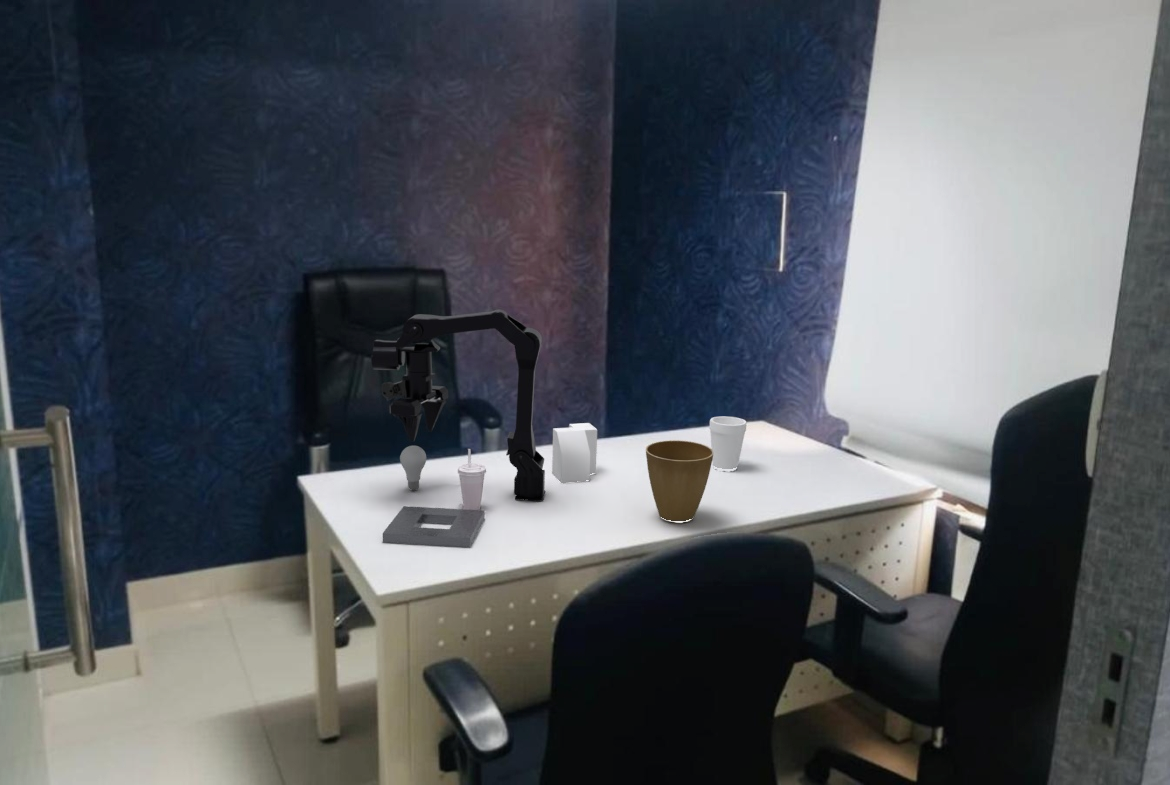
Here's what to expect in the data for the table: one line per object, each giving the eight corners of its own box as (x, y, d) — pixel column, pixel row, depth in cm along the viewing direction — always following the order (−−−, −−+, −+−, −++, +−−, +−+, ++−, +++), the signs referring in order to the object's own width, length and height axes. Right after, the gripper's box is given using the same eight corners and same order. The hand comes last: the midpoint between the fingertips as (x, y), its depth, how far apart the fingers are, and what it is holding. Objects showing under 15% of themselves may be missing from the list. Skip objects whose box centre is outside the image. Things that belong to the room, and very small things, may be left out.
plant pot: (641, 505, 208) (644, 439, 205) (705, 507, 208) (710, 441, 204) (643, 529, 194) (646, 458, 190) (712, 531, 194) (717, 460, 190)
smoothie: (458, 503, 206) (458, 445, 203) (486, 503, 206) (486, 445, 203) (456, 513, 200) (456, 453, 196) (485, 513, 200) (486, 453, 197)
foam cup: (748, 467, 239) (752, 420, 236) (734, 476, 232) (738, 427, 229) (715, 460, 244) (718, 414, 241) (701, 469, 237) (704, 421, 234)
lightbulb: (421, 495, 210) (420, 450, 208) (396, 493, 211) (395, 448, 209) (430, 487, 216) (430, 443, 214) (406, 485, 217) (405, 441, 215)
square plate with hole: (484, 519, 197) (484, 510, 196) (470, 547, 181) (470, 538, 181) (403, 514, 198) (403, 506, 198) (382, 542, 182) (382, 533, 182)
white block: (587, 467, 236) (588, 422, 233) (601, 480, 225) (603, 434, 223) (548, 469, 232) (549, 425, 230) (561, 483, 222) (562, 436, 219)
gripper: (406, 360, 216) (408, 423, 220) (367, 375, 199) (369, 443, 203) (448, 363, 213) (450, 427, 217) (412, 379, 196) (414, 447, 200)
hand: (421, 435), depth 209 cm, fingers open, 9 cm apart
